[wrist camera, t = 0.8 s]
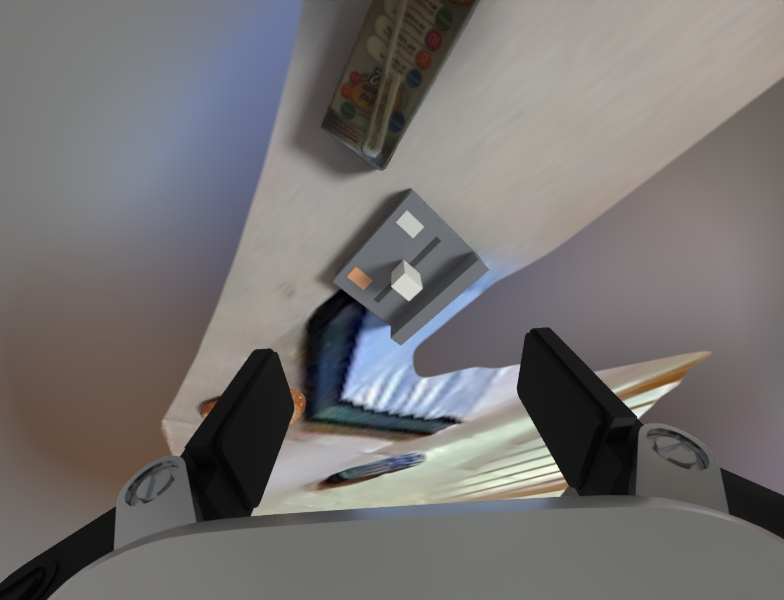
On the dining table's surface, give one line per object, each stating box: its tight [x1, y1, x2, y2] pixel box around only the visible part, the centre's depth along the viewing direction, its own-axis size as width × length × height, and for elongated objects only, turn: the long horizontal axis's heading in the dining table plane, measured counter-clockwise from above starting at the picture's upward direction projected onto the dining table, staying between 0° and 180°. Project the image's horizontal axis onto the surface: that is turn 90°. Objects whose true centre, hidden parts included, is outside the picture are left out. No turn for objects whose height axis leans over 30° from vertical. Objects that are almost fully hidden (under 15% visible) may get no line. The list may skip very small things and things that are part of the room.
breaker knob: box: [391, 260, 423, 301], centre depth 35 cm, size 2×3×4 cm
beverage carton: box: [321, 0, 480, 171], centre depth 27 cm, size 8×19×7 cm, turn 148°
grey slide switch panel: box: [332, 188, 489, 345], centre depth 38 cm, size 16×13×6 cm
